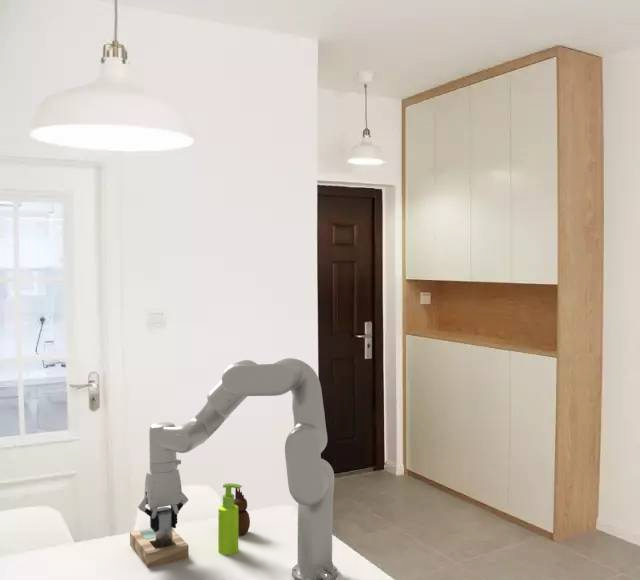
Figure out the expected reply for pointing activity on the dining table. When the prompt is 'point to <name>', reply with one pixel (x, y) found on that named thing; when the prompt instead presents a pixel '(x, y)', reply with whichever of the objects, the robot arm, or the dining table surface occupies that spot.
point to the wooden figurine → (242, 513)
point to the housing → (157, 548)
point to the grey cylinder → (164, 527)
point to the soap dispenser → (228, 523)
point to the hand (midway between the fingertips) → (163, 527)
